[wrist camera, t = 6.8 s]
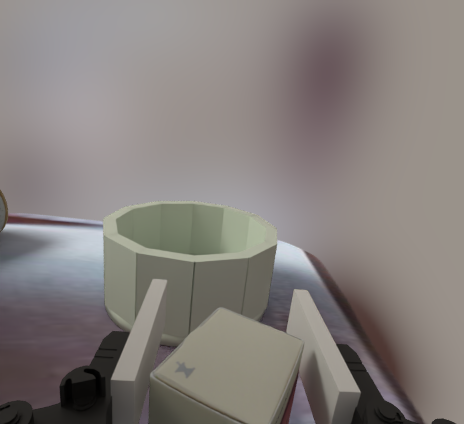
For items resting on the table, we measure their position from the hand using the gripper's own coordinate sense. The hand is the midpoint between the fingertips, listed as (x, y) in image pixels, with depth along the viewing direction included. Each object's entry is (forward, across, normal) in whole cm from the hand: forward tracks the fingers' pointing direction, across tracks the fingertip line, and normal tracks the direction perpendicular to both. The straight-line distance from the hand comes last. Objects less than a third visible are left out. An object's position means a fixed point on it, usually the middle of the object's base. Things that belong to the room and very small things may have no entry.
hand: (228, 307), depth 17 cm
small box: (-5, 0, -7) cm, 8 cm away
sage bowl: (+12, -3, -6) cm, 14 cm away
